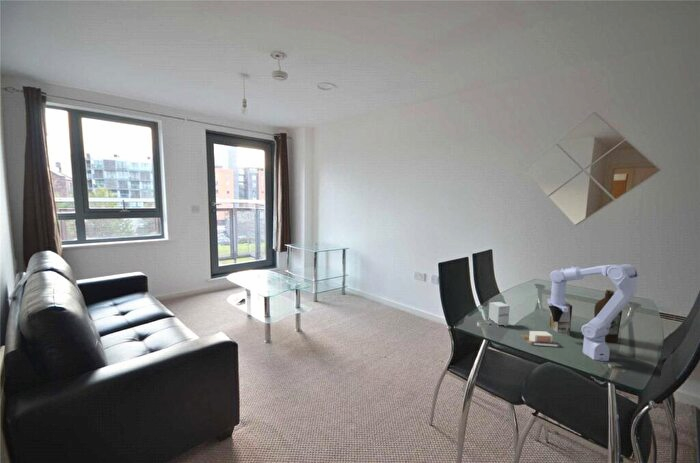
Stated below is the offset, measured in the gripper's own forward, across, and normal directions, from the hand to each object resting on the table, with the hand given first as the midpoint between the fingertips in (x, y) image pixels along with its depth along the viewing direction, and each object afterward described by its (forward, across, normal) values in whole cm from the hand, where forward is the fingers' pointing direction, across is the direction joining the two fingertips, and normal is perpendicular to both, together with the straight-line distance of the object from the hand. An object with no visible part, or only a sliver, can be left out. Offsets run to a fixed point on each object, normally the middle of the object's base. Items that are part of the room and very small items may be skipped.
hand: (556, 321), depth 150 cm
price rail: (+9, +9, -9) cm, 15 cm away
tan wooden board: (+10, +4, -9) cm, 14 cm away
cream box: (+9, +6, -9) cm, 14 cm away
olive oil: (+11, -8, +28) cm, 31 cm away
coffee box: (+10, -13, +9) cm, 19 cm away
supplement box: (+10, -16, -21) cm, 29 cm away
